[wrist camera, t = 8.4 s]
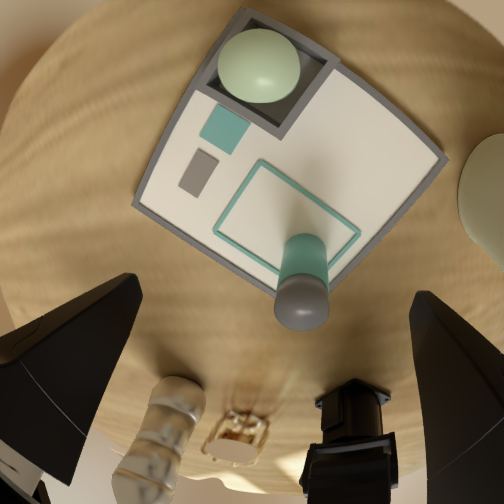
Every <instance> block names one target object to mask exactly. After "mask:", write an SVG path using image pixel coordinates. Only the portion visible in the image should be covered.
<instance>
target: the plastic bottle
mask: <svg viewBox="0 0 504 504" xmlns="http://www.w3.org/2000/svg"><path fill="white" fill-rule="evenodd" d="M205 405H206V397H205V394H204V392H203V390H202V389H201V387H200V386H198V385H197V384H196V383H194V382H192V381H191V380H188V379H186V378H183V377H179V376H168V377H166V378H163V379H161V380H160V381H159V382H158V383H157V384H156V386H155V387H154V388H153V390H152V393H151V396H150V399H149V403H148V409H147V411H146V414H145V417H144V419H143V422H142V425H141V428H140V430H139V432H138V434H137V436H136V439H134V441H133V443H132V445H131V447H130V449H129V450H128V452H127V454H126V455H125V456H124V458H123V459H122V461H121V462H120V463H119V465H118V467H117V469H115V471H114V473H113V474H112V488H113V492H114V495H115V498H116V501H117V504H169V503H170V502H171V501H172V499H173V495H174V490H175V484H176V479H177V474H178V469H179V466H180V463H181V459H182V458H181V457H182V456H183V453H184V449H185V447H186V445H187V443H188V441H189V439H190V436H191V434H192V432H193V430H194V428H195V426H196V425H197V424H198V422H199V421H200V419H201V417H202V415H203V413H204V411H205Z"/></svg>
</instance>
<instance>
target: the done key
mask: <svg viewBox="0 0 504 504" xmlns="http://www.w3.org/2000/svg"><path fill="white" fill-rule="evenodd" d="M218 74H219V77H220V80H221V82H222V84H223V85H224V87H225V88H226V89H227V90H228V91H229V92H230V93H231V94H232V95H234V96H235V97H237V98H239V99H241V100H244V101H247V102H253V103H271V102H277V101H280V100H282V99H284V98H286V97H288V96H289V95H290V94H291V93H292V92H293V91H294V90H295V89H296V87H297V86H298V83H299V81H300V77H301V68H300V62H299V57H298V54H297V51H296V49H295V48H294V46H293V45H292V43H291V42H290V41H289V40H288V39H287V38H285V37H284V36H282V35H281V34H279V33H277V32H274V31H271V30H267V29H251V30H247V31H244V32H241V33H239V34H237V35H236V36H234V37H233V38H231V39H230V40H229V41H228V42H227V43H226V44H225V46H224V47H223V49H222V51H221V53H220V55H219V59H218Z"/></svg>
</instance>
